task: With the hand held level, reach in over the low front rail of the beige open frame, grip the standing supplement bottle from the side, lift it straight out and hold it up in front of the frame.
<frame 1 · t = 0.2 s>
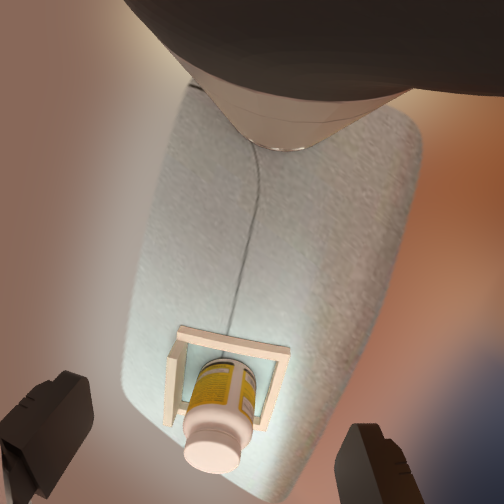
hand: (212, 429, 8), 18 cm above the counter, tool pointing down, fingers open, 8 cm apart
beige open frame: (226, 380, 28), on the counter
supplement bottle: (227, 379, 28), resting in beige open frame
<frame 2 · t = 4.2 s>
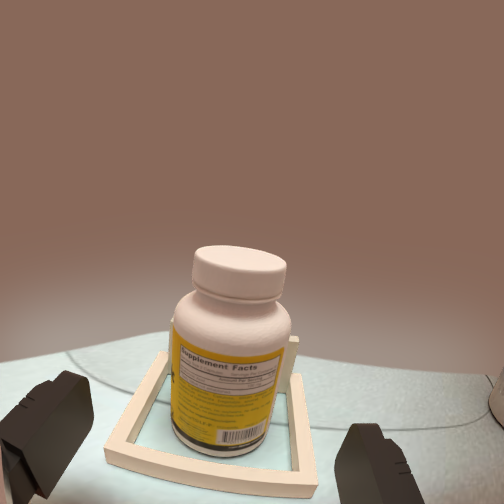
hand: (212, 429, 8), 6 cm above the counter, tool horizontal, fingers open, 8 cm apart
beige open frame: (219, 424, 16), on the counter
supplement bottle: (217, 428, 16), resting in beige open frame
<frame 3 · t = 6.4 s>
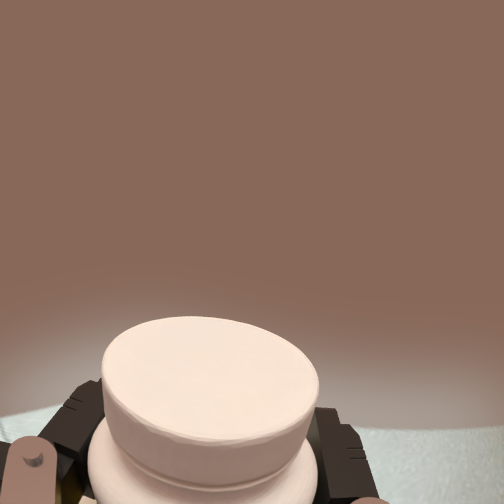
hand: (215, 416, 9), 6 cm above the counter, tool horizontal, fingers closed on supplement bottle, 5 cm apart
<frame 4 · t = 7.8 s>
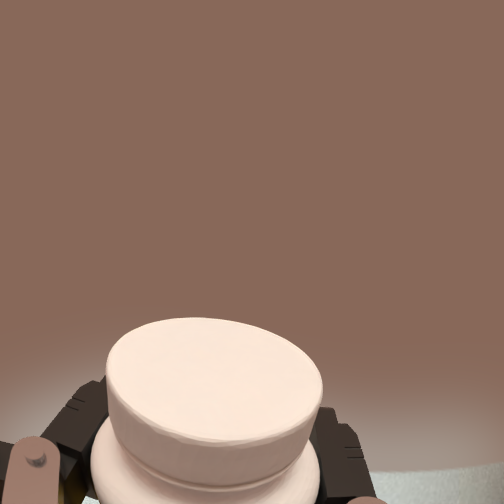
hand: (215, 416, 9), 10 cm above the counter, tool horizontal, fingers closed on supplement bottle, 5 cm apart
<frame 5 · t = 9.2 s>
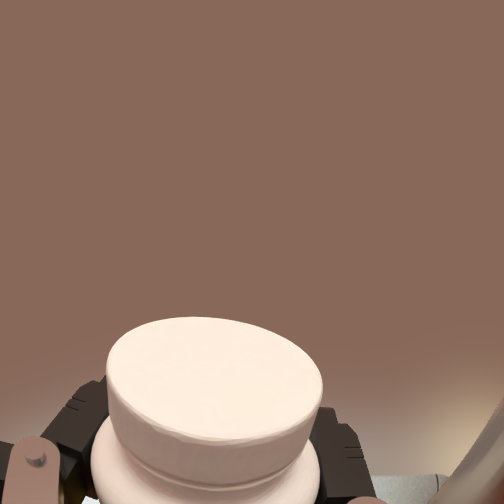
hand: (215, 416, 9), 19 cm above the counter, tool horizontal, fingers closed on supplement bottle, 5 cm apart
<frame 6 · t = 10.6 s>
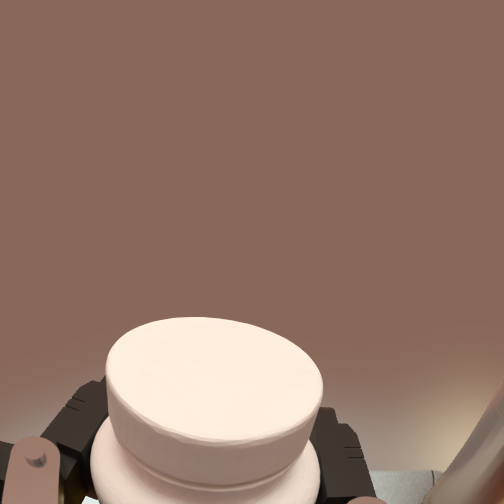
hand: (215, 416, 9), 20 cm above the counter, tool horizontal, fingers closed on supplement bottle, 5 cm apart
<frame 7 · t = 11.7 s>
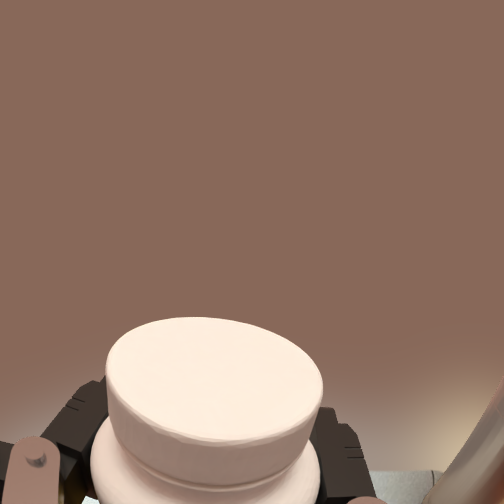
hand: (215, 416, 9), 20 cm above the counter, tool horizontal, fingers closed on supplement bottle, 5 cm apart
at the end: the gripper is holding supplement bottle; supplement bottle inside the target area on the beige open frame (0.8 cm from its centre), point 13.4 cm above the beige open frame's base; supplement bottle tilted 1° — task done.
